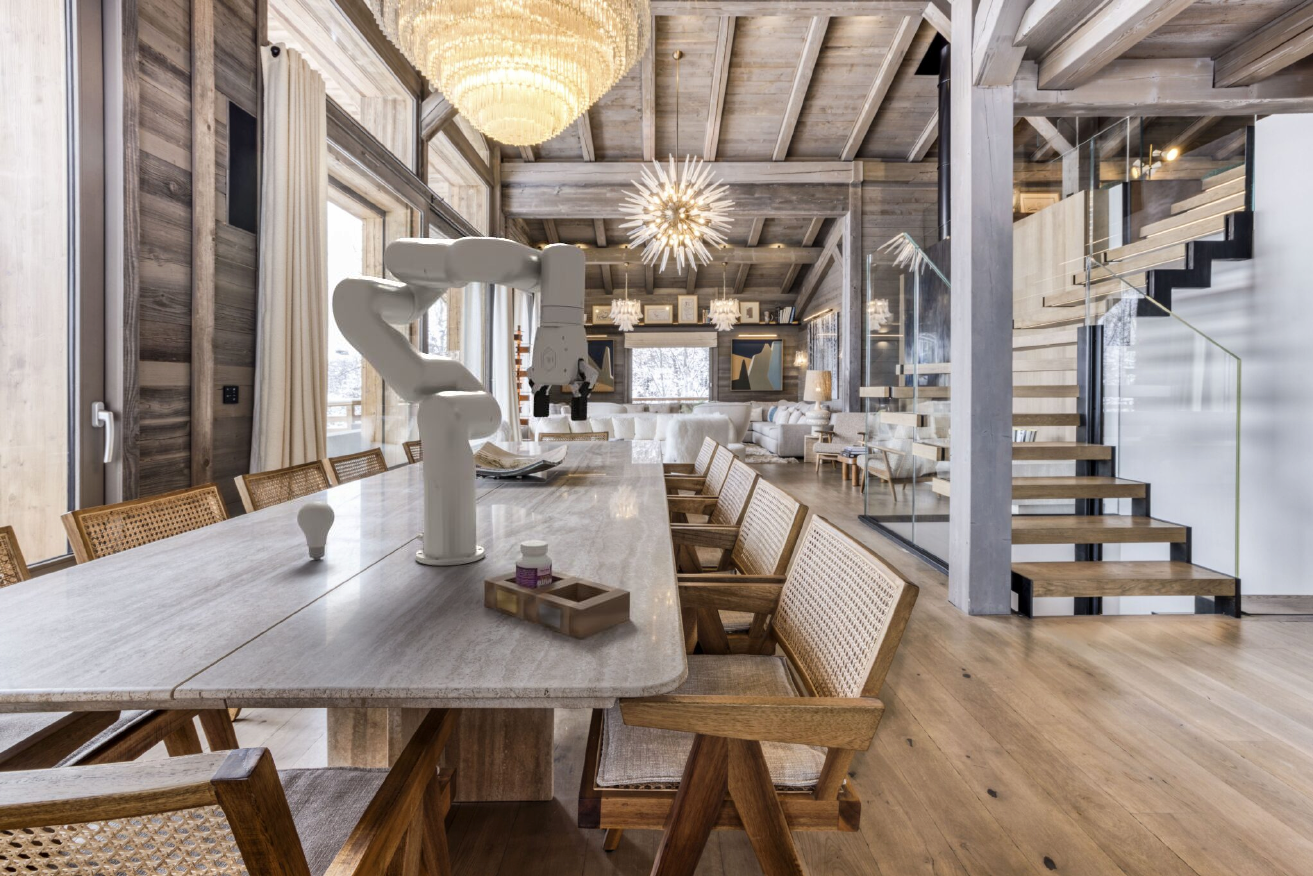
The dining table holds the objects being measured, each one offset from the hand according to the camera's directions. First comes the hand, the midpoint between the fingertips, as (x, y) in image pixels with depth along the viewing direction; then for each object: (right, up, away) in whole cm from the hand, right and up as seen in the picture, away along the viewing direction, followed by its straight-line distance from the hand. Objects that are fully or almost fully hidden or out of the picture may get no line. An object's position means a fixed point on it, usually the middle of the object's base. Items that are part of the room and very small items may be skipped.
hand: (559, 418), depth 113 cm
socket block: (+2, -29, -18) cm, 34 cm away
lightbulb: (-46, -26, +8) cm, 54 cm away
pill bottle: (-2, -29, -15) cm, 33 cm away
